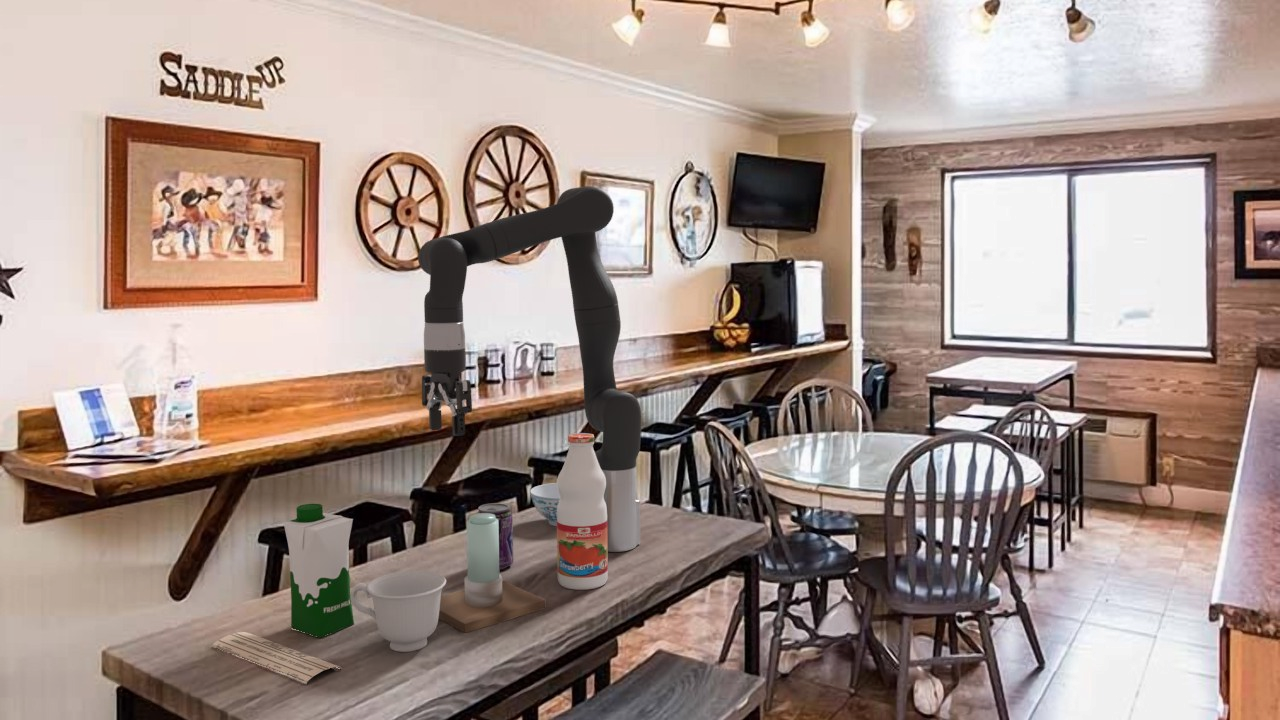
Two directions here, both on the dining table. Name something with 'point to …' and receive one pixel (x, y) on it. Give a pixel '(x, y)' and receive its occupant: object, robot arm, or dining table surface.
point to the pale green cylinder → (483, 548)
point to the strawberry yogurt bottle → (581, 517)
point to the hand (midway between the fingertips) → (447, 432)
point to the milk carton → (319, 571)
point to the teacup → (403, 606)
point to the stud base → (487, 614)
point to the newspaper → (273, 655)
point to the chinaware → (546, 501)
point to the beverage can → (502, 531)
